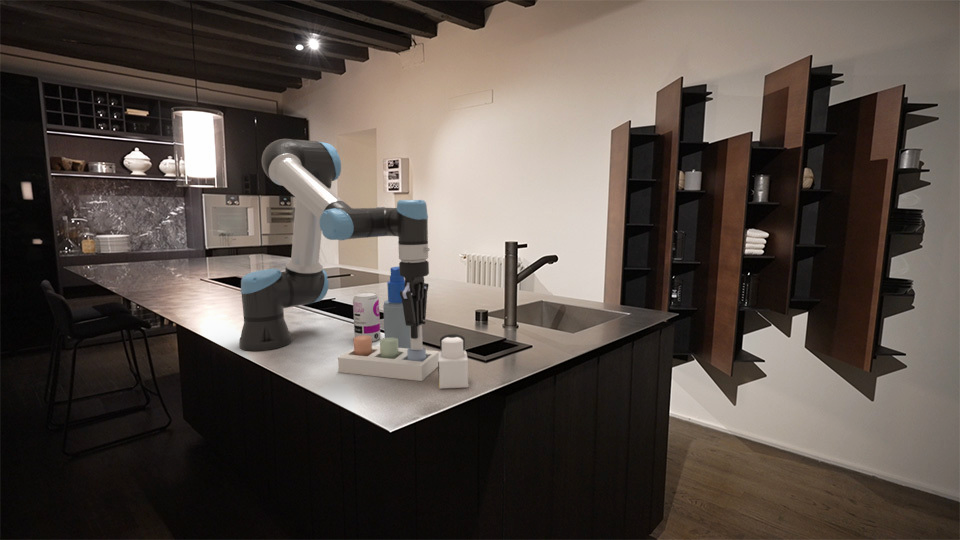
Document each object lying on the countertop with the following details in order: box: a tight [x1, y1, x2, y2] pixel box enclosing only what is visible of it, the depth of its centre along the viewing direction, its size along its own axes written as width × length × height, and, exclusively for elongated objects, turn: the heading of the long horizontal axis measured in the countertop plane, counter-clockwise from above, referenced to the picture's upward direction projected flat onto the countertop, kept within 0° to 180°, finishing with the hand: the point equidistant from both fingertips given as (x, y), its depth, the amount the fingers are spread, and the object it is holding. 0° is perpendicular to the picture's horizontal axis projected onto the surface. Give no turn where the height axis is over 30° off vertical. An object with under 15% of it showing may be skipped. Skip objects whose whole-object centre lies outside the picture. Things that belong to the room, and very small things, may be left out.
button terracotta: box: [353, 335, 373, 356], centre depth 132 cm, size 5×5×5 cm
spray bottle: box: [383, 266, 411, 349], centre depth 147 cm, size 9×9×25 cm
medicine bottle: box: [437, 333, 469, 390], centre depth 119 cm, size 7×7×12 cm
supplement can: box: [352, 292, 381, 343], centre depth 157 cm, size 8×8×15 cm
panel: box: [337, 344, 440, 382], centre depth 130 cm, size 24×12×4 cm, turn 73°
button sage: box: [379, 337, 399, 359], centre depth 130 cm, size 5×5×5 cm
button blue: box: [407, 347, 427, 362], centre depth 128 cm, size 5×5×5 cm
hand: (416, 349), depth 127 cm, fingers closed
